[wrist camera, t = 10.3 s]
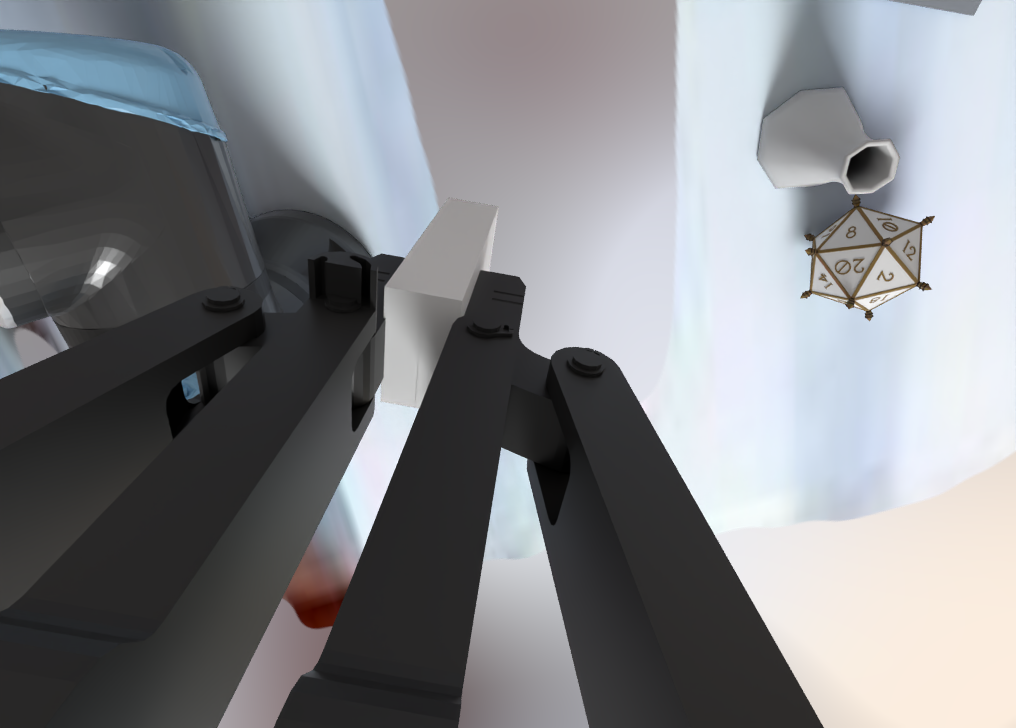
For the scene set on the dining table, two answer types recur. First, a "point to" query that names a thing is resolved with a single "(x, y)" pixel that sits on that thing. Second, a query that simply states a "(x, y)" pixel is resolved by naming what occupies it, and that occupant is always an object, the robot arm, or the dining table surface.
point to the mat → (947, 5)
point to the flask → (823, 145)
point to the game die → (866, 258)
